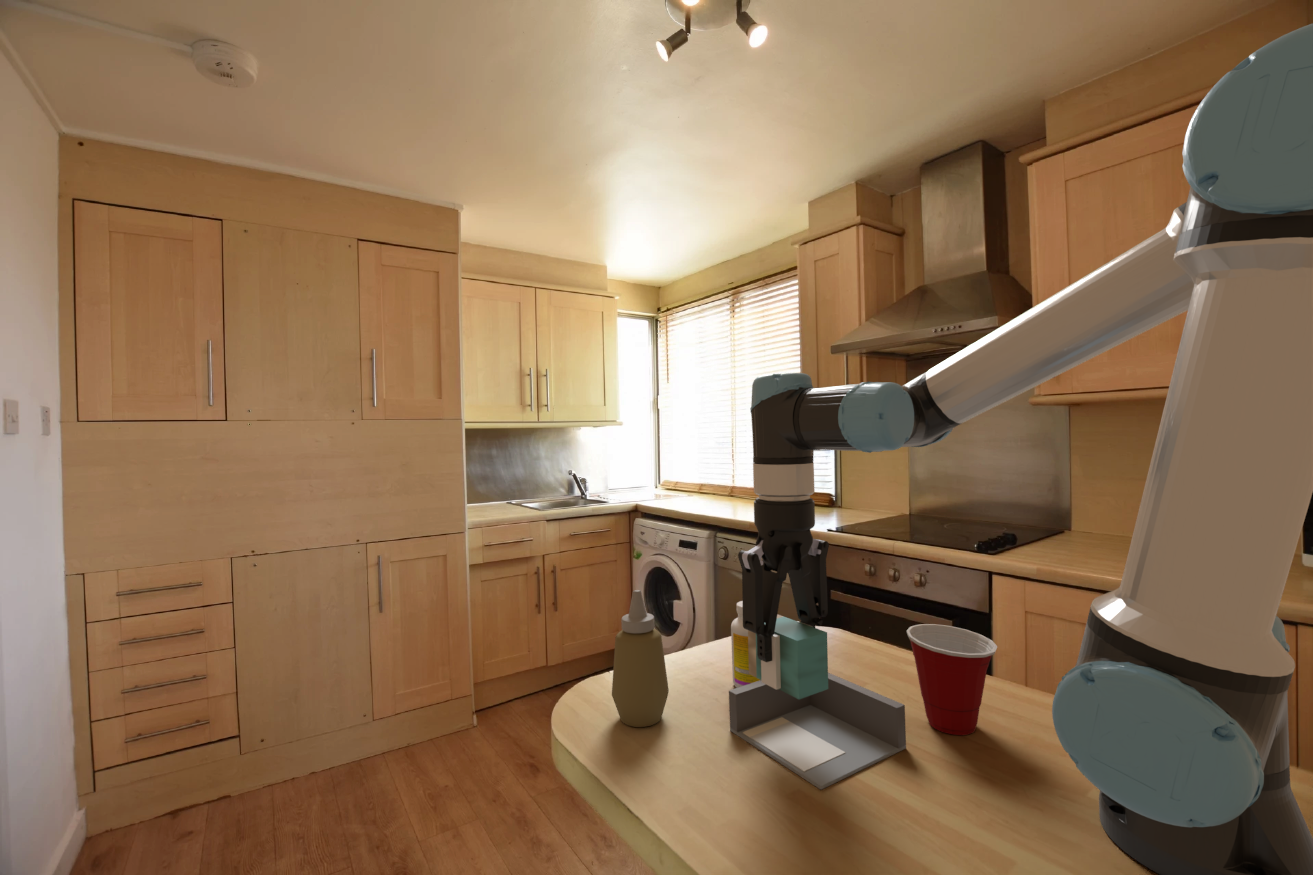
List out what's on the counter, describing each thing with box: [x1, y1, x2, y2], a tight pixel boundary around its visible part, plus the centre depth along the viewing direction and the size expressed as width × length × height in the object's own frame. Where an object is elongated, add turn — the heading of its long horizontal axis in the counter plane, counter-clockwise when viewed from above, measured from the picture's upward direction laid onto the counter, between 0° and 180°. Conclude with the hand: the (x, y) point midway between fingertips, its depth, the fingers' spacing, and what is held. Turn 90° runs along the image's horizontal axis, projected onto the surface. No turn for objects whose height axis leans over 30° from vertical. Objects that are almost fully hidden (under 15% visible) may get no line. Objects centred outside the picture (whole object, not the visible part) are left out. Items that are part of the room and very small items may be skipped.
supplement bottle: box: [730, 600, 760, 688], centre depth 93 cm, size 7×7×13 cm
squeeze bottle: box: [611, 589, 669, 728], centre depth 83 cm, size 8×8×18 cm
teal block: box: [748, 614, 829, 699], centre depth 75 cm, size 9×5×7 cm, turn 32°
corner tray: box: [728, 672, 907, 790], centre depth 76 cm, size 16×15×5 cm
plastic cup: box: [906, 623, 998, 736], centre depth 78 cm, size 11×11×12 cm
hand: (787, 678), depth 75 cm, fingers closed on teal block, 5 cm apart
